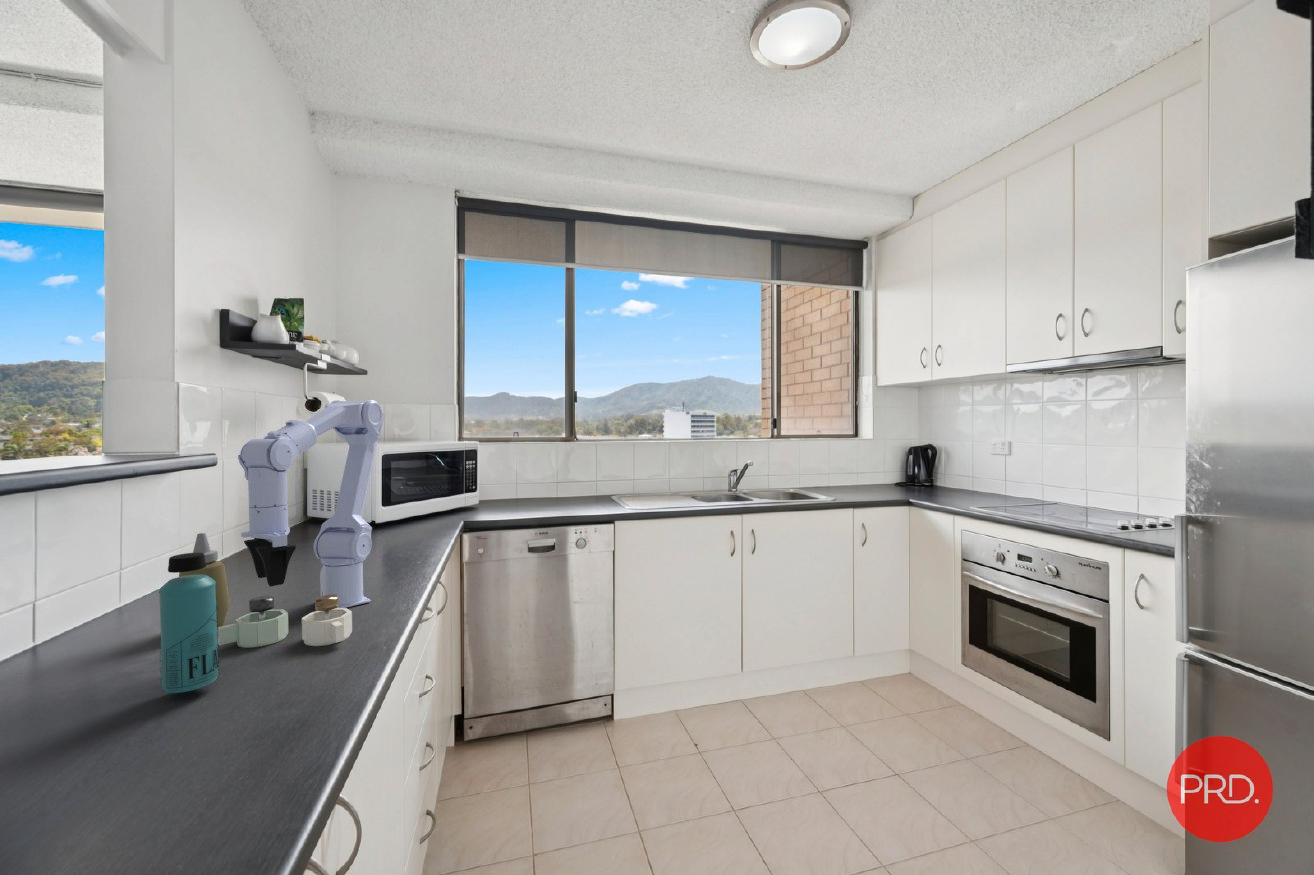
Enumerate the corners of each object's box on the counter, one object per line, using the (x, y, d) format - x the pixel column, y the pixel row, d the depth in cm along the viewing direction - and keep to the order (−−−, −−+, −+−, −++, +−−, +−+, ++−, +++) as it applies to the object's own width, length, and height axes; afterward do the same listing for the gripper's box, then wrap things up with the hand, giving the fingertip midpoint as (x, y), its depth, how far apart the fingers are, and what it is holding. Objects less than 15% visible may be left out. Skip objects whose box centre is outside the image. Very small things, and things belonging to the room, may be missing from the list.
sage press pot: (280, 629, 104) (280, 606, 104) (292, 638, 99) (291, 615, 99) (214, 644, 96) (214, 620, 96) (223, 656, 92) (222, 631, 92)
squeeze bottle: (241, 621, 108) (239, 529, 107) (203, 637, 100) (201, 538, 99) (203, 620, 109) (201, 529, 108) (163, 636, 101) (160, 537, 100)
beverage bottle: (186, 706, 75) (182, 560, 75) (147, 702, 76) (143, 558, 76) (231, 684, 82) (228, 549, 81) (195, 680, 83) (192, 548, 82)
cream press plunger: (307, 634, 99) (306, 598, 99) (337, 626, 103) (337, 591, 103) (316, 641, 96) (315, 604, 95) (347, 633, 99) (347, 597, 99)
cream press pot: (298, 638, 99) (298, 615, 99) (342, 627, 104) (342, 605, 104) (316, 653, 92) (315, 628, 92) (362, 641, 98) (361, 617, 98)
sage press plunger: (242, 635, 98) (241, 599, 98) (275, 627, 102) (274, 592, 102) (248, 642, 95) (248, 605, 95) (282, 634, 99) (282, 598, 99)
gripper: (232, 504, 101) (234, 577, 101) (251, 512, 91) (253, 594, 91) (277, 499, 106) (279, 570, 106) (300, 507, 96) (302, 584, 96)
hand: (270, 580), depth 99 cm, fingers open, 7 cm apart
